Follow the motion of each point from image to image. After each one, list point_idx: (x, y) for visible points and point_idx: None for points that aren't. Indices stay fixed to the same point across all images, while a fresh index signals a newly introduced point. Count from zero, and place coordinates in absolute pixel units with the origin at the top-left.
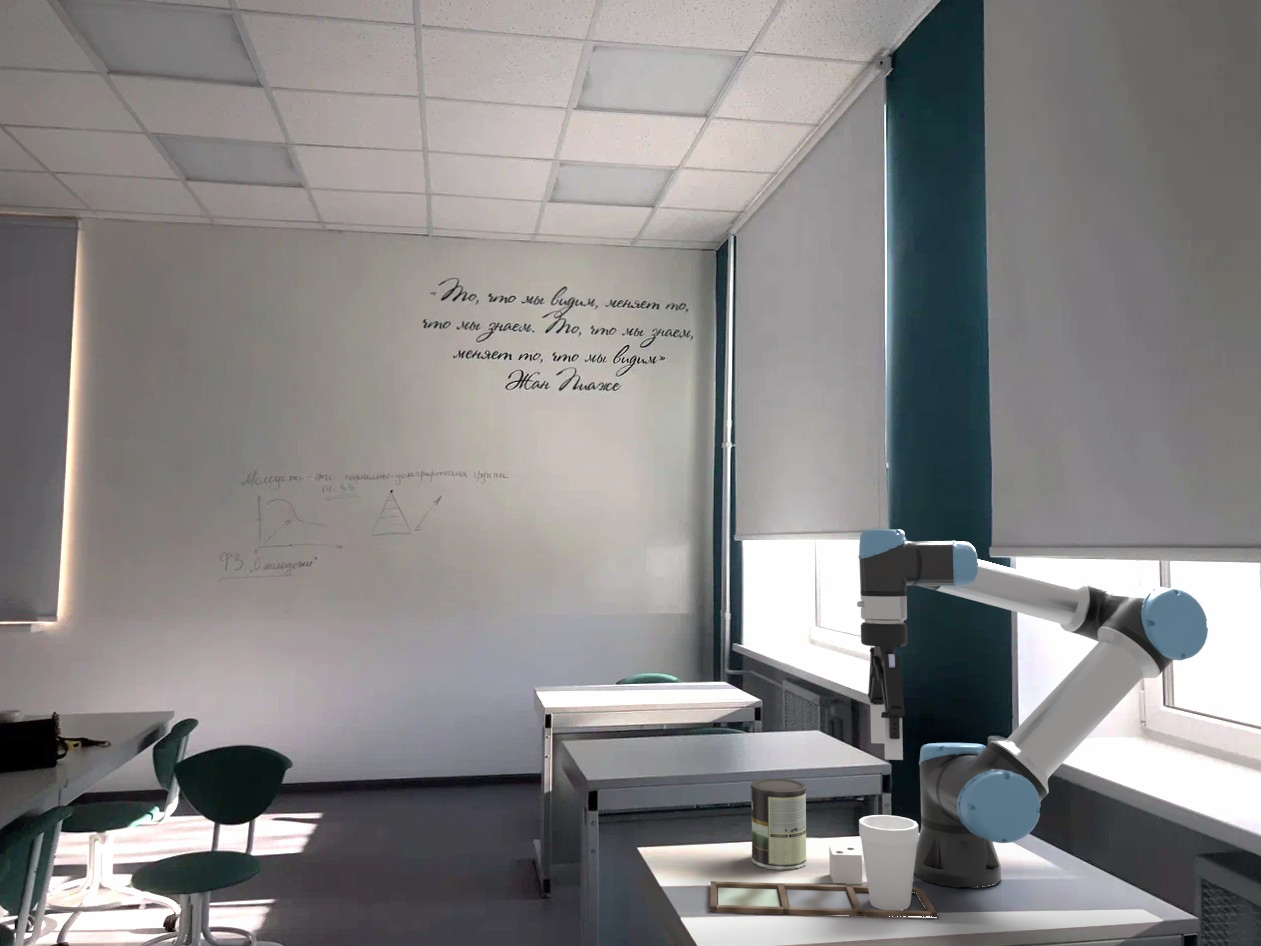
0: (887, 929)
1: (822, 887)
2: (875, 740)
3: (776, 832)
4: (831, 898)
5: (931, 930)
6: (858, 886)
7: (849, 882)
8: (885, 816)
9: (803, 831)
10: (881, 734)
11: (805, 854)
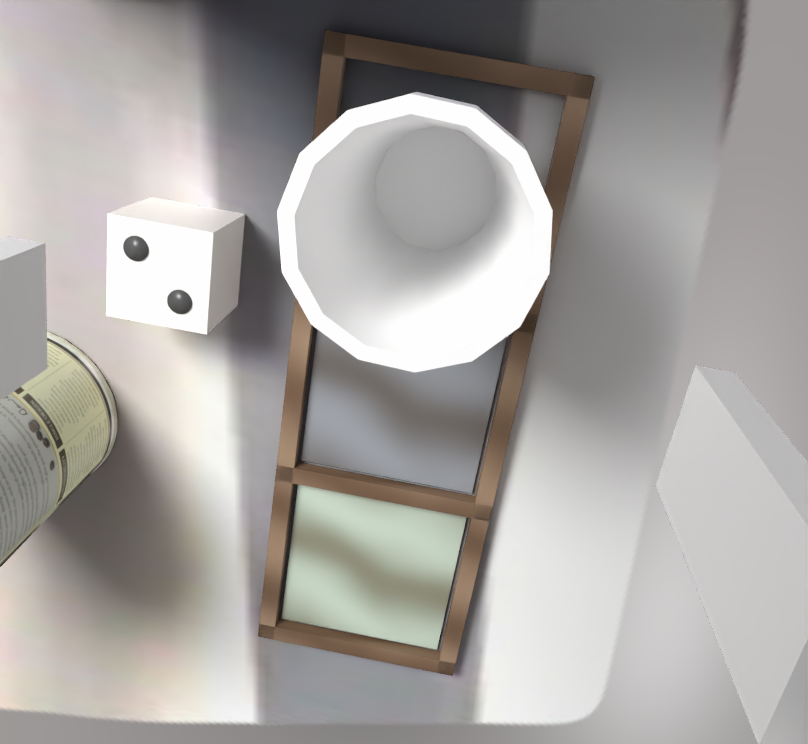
0: (647, 274)
1: (307, 363)
2: (34, 348)
3: (57, 490)
4: None
5: (682, 138)
6: None
7: (240, 256)
8: (294, 212)
9: None
10: (2, 315)
11: None
